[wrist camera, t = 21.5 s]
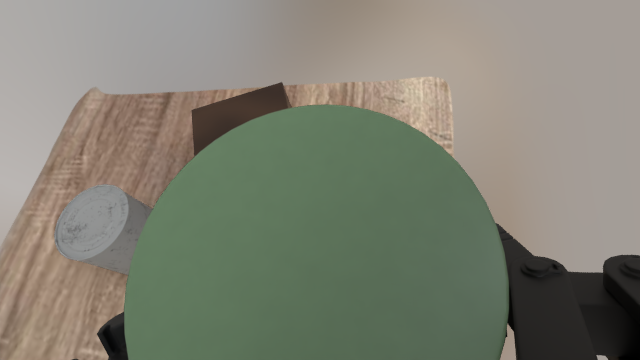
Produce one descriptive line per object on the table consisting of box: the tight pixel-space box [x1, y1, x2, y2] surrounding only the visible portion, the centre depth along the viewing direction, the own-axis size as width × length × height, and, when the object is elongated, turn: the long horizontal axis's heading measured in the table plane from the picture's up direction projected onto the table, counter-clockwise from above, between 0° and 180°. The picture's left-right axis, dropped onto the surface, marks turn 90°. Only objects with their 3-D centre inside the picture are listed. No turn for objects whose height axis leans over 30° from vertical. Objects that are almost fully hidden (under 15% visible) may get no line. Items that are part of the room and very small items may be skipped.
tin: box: [124, 105, 509, 360], centre depth 12 cm, size 8×8×12 cm
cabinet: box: [192, 83, 292, 156], centre depth 50 cm, size 16×14×10 cm
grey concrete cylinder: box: [54, 184, 153, 275], centre depth 46 cm, size 10×10×12 cm
